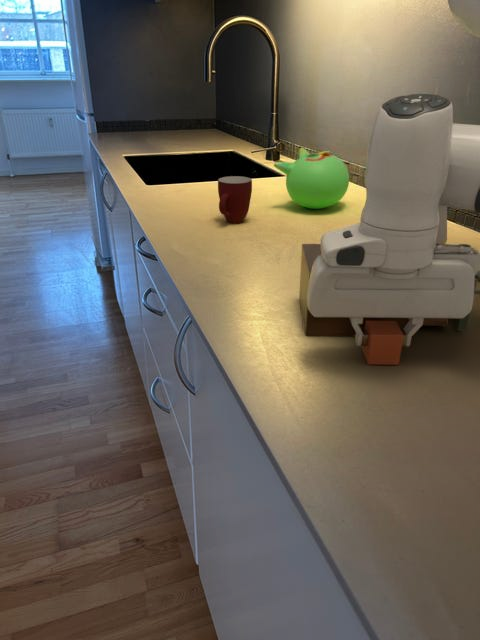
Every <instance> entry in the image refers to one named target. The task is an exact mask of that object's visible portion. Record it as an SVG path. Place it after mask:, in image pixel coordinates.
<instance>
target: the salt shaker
mask: <svg viewBox="0 0 480 640" xmlns="http://www.w3.org/2000/svg"><path fill="white" fill-rule="evenodd" d="M438 211H439V225H438V231H437V237H436V243H435V244H447V241H448V207H446V206H440V205H439V206H438Z"/></svg>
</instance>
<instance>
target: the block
mask: <svg viewBox="0 0 480 640" xmlns="http://www.w3.org/2000/svg"><path fill="white" fill-rule="evenodd" d="M365 329H367V331H368V333H369V341H368V342H369V343H368V346H362V352H363V355H364V357H365V360H366V362H367V365H378V366H379V365H381V366H382V365H383V366H384V365H385V366H388V365H389V366H398V365H400V359H401V354H402V348H403V346H402V342H403V336H404V335H403V333H402V332H401V330H400V328H399V326H398V324H397V322H396V321H366V324H365Z"/></svg>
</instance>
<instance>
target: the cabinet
mask: <svg viewBox="0 0 480 640" xmlns="http://www.w3.org/2000/svg"><path fill="white" fill-rule="evenodd" d="M320 245H321V243H301V257H300V276H299V295H298V300H299V301H298V302H299V306H300V312H301V318H302V323H303V330H304V335H305V336H306V337H355V335H356V331H355V330H354V328H353V326H352V324H351V321H350V318H349V317H314V316H313V315H312V314H311V313H310V311H309V310H308V306H307V291H308V284H309V278H310V274H311V270H312V266H313V263H314V261H315V260H316V258H317V257H318V256H319V255H321V254H322V253H321V246H320ZM366 321H396V322H397V324H398V326H399V328H400V329H403V328H404V327H405V326H406V325H407V323H408V322H409V321H410V320H409V318H363V323H362V324H359V326H360V328H361V329H365V324H366Z"/></svg>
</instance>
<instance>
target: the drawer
mask: <svg viewBox="0 0 480 640" xmlns="http://www.w3.org/2000/svg"><path fill="white" fill-rule="evenodd" d="M474 280H475V284H474V295H480V288H476V287H477V284H478V283H479V284H480V270H478V272H477V274H476V275H475V276H474ZM470 314H471V312H470V313H469V314H468V315H467V316H465V317H464V318H424V320H423V325H422V326H431V327H432V326H434V327H435V326H438V327H440V326H441V327H443V326H444V327H445V326H446V327H447V326H448V323H449V320H450V321H451V323H452V324H453V325H454V327H455V328H456V330H458V331H467V327H468V323H469V317H470Z"/></svg>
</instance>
